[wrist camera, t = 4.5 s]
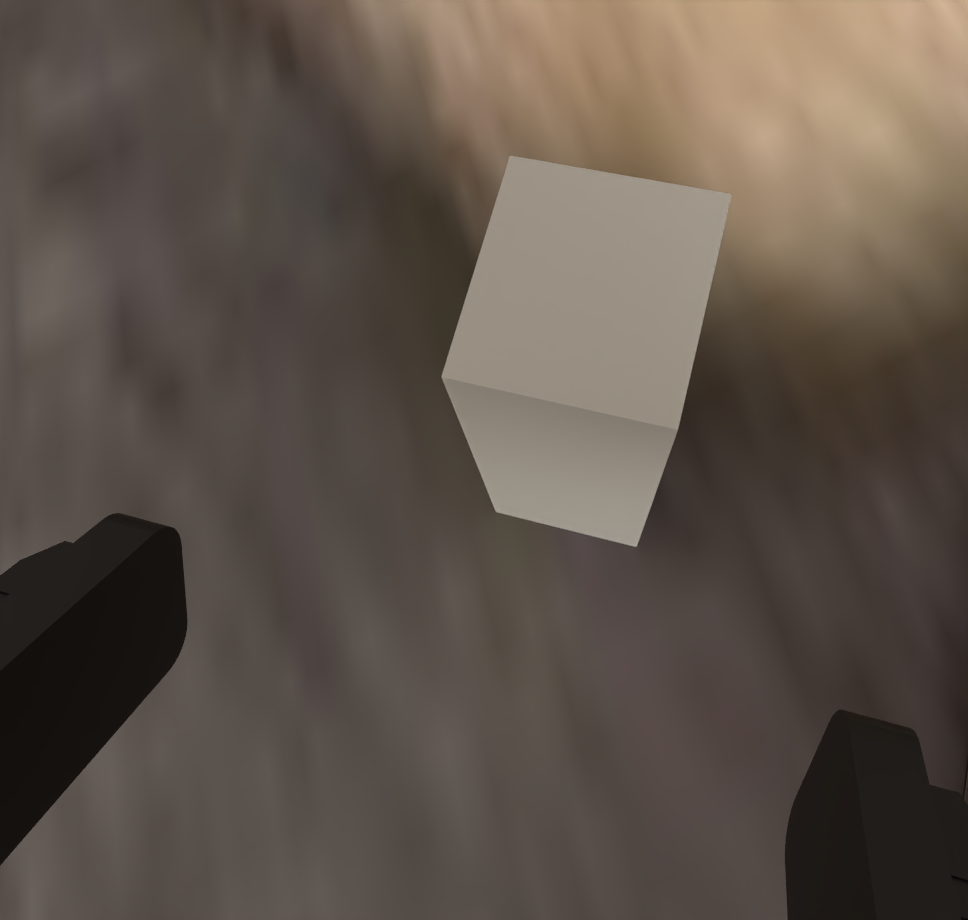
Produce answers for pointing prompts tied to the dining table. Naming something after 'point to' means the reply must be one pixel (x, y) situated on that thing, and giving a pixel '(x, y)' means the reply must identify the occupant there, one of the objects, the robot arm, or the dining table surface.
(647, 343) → the tall off-white block
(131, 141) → the dining table surface
